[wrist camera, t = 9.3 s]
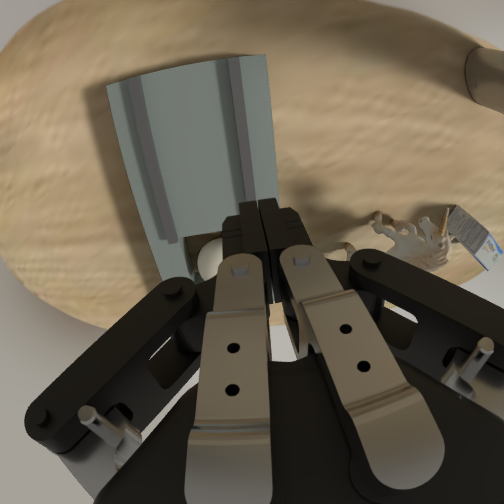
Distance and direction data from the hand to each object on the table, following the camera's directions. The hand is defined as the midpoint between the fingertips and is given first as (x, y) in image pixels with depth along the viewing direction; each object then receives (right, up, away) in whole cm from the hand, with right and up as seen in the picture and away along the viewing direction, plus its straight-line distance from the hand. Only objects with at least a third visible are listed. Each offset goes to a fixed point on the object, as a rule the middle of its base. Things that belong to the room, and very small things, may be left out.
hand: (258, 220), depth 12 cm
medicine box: (+34, +3, +29) cm, 45 cm away
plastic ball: (-4, -3, +24) cm, 24 cm away
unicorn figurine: (+14, +3, +27) cm, 31 cm away
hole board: (-5, +5, +22) cm, 23 cm away
